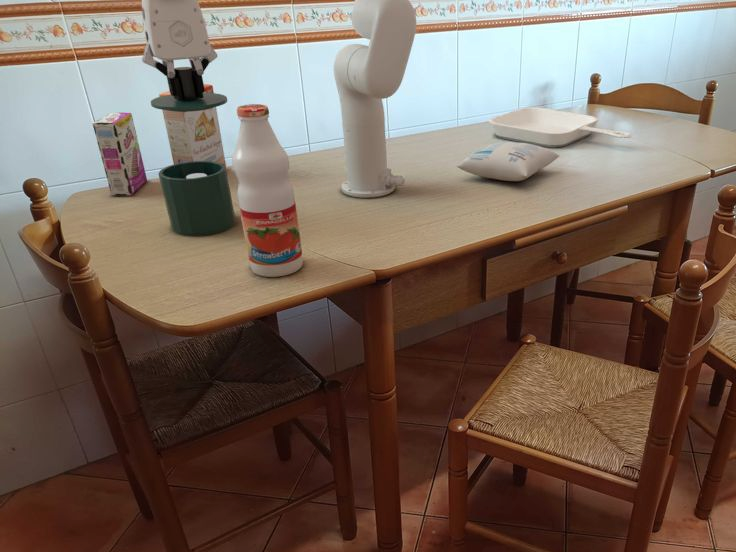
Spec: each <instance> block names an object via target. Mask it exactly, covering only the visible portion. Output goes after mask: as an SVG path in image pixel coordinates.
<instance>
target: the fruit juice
mask: <svg viewBox="0 0 736 552" xmlns="http://www.w3.org/2000/svg"><path fill="white" fill-rule="evenodd" d="M236 116H237V118H238V120H239V122H240V125H239V129H238V137H237V141H236V142H237V143H236V147H235V149H234V152H233V154H232V159H231V162H232V163H231V164H232V168H233V172H234V174H235V176H236V178H237V181H238V185H237V190H236V194H237V202H238V207H239V212H240V218H241V224H242V225H241V226H242V229H243V235H244V240H245V247H246V251H247V258H248V262H249V266H250V269H251V271H252V272H253V273H254V274H255V275H257V276H261V277H264V278H265V277H267V278H277V277H278V278H279V277H284V276H288V275H291V274H294V273H296V272H298V271H299V270H300V269H301V268H302V267H303V264H304V256H303V249H302V242H301V235H300V227H299V219H298V212H297V203H296V196H295V191H294V188H293V185H292V182H291V181H290V179H289V171H290V160H289V156H288V155H289V154H288V153H287V151H286V150H285V149H284V148H283V146H282V145H281V143H280V141H279V140H278V138H277V137H278V136H277V135H276V134H275V131H274V128H272V125H271V124H270V121H269V117H270V110H269V107H268V106H267V104H261V103H249V104H243V105H240V106H237V107H236Z"/></svg>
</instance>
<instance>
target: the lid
mask: <svg viewBox="0 0 736 552" xmlns="http://www.w3.org/2000/svg"><path fill="white" fill-rule="evenodd" d="M174 71H175V74H176V78H178V79H179V83H180V88H181V93H182V98H183V100H182V101H178V100H176V99H174V96H172V95H165V96H161V97H159V96H157V97H155V98H153V99H151V100H150V106H151V107H152V108H154V109H157V110H161V111H162V110H168V111H176V112H191V111H201V110H207V109H211V108H214V107H216V108H217V107H221V106H223V105H225V104H227V103H228V97H227V95H224V94H221V93H216V92H214V93H204V92H203V98H199V97H198V95H197V90H196V85H195V79H194V74H193V69H192V68H191V66H178V67H174Z"/></svg>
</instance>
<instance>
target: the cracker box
mask: <svg viewBox="0 0 736 552" xmlns="http://www.w3.org/2000/svg"><path fill="white" fill-rule="evenodd" d="M203 84H204V90H205V92H204V93H215V92H214V87H213V85H212V84H209V83H208V84H207V83H203ZM165 95H171V94H170V90H168V91H164V92H161V93H159V94H158V97H161V96H165ZM161 111H162V115H163V120H164V125H165V130H166V135H167V139H168V143H169V149H170V153H171V157H172V163H173V165H174V164H178V163H184V162H191V161H211V162H217V163H221V164H223V165H224V166H225V167H226V170H227V163H226V157H225V151H224V145H223V140H222V134H221V128H220V121H219V115H218V110H217V107H214V108H211V109H207V110H201V111H191V112H176V111H168V110H161Z"/></svg>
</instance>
